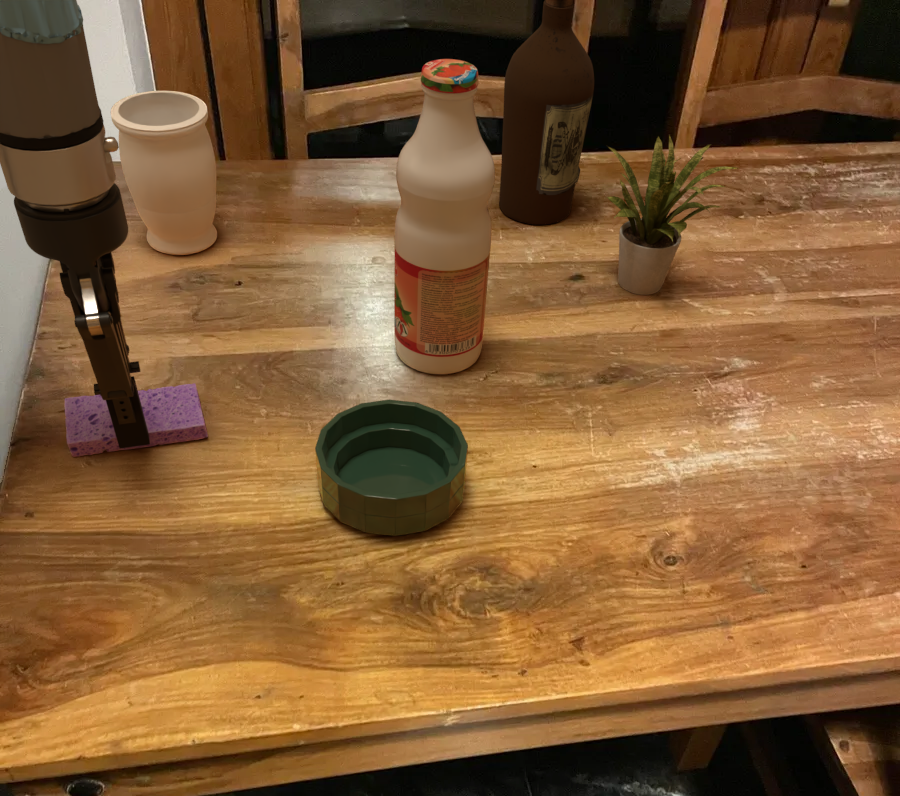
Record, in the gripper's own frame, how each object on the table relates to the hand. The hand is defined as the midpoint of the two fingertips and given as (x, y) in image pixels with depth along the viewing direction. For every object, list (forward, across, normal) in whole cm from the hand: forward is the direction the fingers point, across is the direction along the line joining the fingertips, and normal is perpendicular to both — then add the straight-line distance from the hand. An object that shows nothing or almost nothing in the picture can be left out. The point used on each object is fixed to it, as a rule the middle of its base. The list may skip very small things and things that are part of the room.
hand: (134, 441), depth 86 cm
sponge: (+2, +4, 0) cm, 5 cm away
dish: (+2, -10, -22) cm, 24 cm away
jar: (+1, +39, -8) cm, 40 cm away
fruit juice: (+2, +10, -32) cm, 34 cm away
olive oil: (+2, +38, -53) cm, 65 cm away
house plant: (+2, +17, -60) cm, 62 cm away
